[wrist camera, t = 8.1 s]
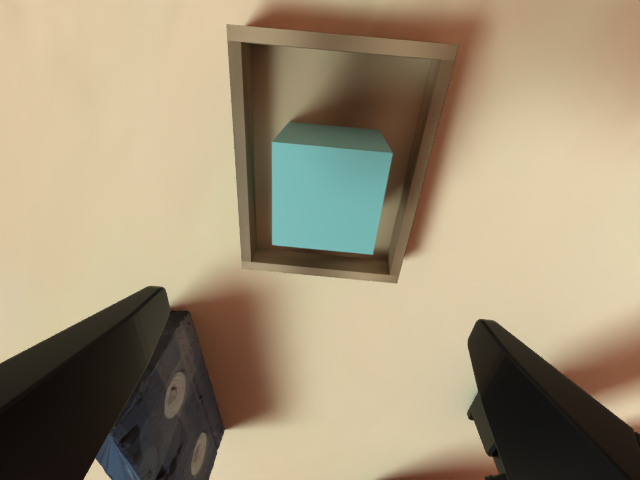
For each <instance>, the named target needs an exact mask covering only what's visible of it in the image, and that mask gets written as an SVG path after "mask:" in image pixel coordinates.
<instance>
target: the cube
mask: <svg viewBox="0 0 640 480" xmlns="http://www.w3.org/2000/svg"><path fill="white" fill-rule="evenodd" d="M392 155H393V153H392V151H391V149H390V147H389V146H388V144H387V142H386V141H385V139H384V137H383V135H382V134H381V132H380V130H375V129H364V128H354V127H343V126H332V125H321V124H310V123H299V122H288V124H287V125H286V126H285V127H284V128H283V129H282V131H281V132H280V133H279V134H278V135H277V137H276V138H275V139H274V140H273V141H272V245H277V246H287V247H298V248H308V249H318V250H329V251H339V252H350V253H360V254H370V255H373V251H374V246H375V241H376V236H377V231H378V226H379V221H380V216H381V211H382V205H383V200H384V195H385V190H386V185H387V180H388V175H389V170H390V165H391V160H392Z"/></svg>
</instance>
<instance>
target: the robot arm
mask: <svg viewBox="0 0 640 480" xmlns="http://www.w3.org/2000/svg"><path fill="white" fill-rule="evenodd" d="M169 314H170V306H169V302H168V297H167V293H166V290H165V288H163V287H159V286H148V287H146V288H144V289H142V290H140V291H138V292H136V293H134V294H132V295H130V296H128V297H127V298H125V299H123V300H121V301H119V302H117V303H115V304H113V305H111V306H109V307H107V308H105V309H104V310H102V311H100V312H98V313H96V314H94V315H92V316H90V317H88V318H86V319H84V320H82V321H81V322H79V323H77V324H75V325H73V326H71V327H69V328H67V329H65V330H63V331H61V332H59V333H58V334H56V335H54V336H52V337H50V338H48V339H46V340H44V341H42V342H40V343H38V344H36V345H34V346H33V347H31V348H29V349H27V350H25V351H23V352H21V353H19V354H17V355H15V356H13V357H11V358H10V359H8V360H6V361H4V362H2V363H0V480H83V479H84V477H85V476H86V474H87V472H88V470H89V469H90V467H91V465H92V463H93V461H94V460H95V458H96V456H97V454H98V453H99V451H100V449H101V447H102V445H103V444H104V442H105V440H106V438H107V437H108V435H109V433H110V431H111V429H112V428H113V426H114V424H115V422H116V421H117V419H118V417H119V415H120V413H121V412H122V410H123V408H124V406H125V405H126V403H127V401H128V399H129V398H130V396H131V394H132V392H133V390H134V389H135V387H136V385H137V383H138V382H139V380H140V378H141V376H142V374H143V373H144V371H145V369H146V367H147V365H148V363H149V361H150V359H151V357H152V354H153V352H154V350H155V347H156V345H157V343H158V340H159V338H160V336H161V333H162V331H163V329H164V326H165V324H166V322H167V319H168V317H169ZM468 350H469V354H470V358H471V362H472V367H473V371H474V375H475V380H476V384H477V388H478V394H477V396H476V398H475V400H474V401H473V403H472V405H471V407H470V409H469V410H468V412H467V416H468V418H469V419H470V420H474V422H475V425H476V427H477V430H478V433H479V435H480V438H481V441H482V443H483V446H484V449H485V451H486V453H487V455H488V456H489V457H493V459H494V462H495V464H496V467H497V469H498V472H499V474H498V475H494V476H492V475H489V476H485V480H640V434H639V433H638V432H634V430H633V428H631V427H630V426H629V425H627V424H626V423H625V422H624V421H622V420H621V419H620V418H619V417H617V416H616V415H615V414H613V413H612V412H611V411H610V410H608V409H607V408H606V407H604V406H603V405H602V404H601V403H599V402H598V401H597V400H595V399H594V398H593V397H592V396H590V395H589V394H588V393H586V392H585V391H584V390H583V389H581V388H580V387H579V386H577V385H576V384H575V383H574V382H572V381H571V380H570V379H569V378H567V377H566V376H565V375H563V374H562V373H561V372H560V371H558V370H557V369H556V368H554V367H553V366H552V365H551V364H549V363H548V362H547V361H545V360H544V359H543V358H542V357H540V356H539V355H538V354H536V353H535V352H534V351H533V350H531V349H530V348H529V347H527V346H526V345H525V344H524V343H522V342H521V341H520V340H518V339H517V338H516V337H515V336H513V335H512V334H511V333H510V332H508V331H507V330H506V329H504V328H503V327H502V326H501V325H499V324H498V323H497V322H495V321H493V320H486V319H479V320H478V321H477V322H476V323H475V325H474V328H473V330H472V332H471V334H470V336H469V339H468Z"/></svg>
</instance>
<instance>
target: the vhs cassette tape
mask: <svg viewBox="0 0 640 480" xmlns="http://www.w3.org/2000/svg"><path fill="white" fill-rule="evenodd" d="M224 430H225V429H224V426H223V423H222V420H221V416H220V412H219V409H218V406H217V402H216V399H215V396H214V392H213V389H212V385H211V382H210V379H209V376H208V372H207V369H206V365H205V362H204V359H203V355H202V352H201V349H200V345H199V342H198V339H197V336H196V332H195V329H194V326H193V323H192V319H191V316H190V313H189V312H186V311H178V312H174V311H172V312H171V311H170V314H169V317H168V319H167V322H166V324H165V326H164V329H163V331H162V333H161V336H160V338H159V340H158V343H157V345H156V347H155V350H154V352H153V354H152V357H151V359H150V361H149V363H148V365H147V367H146V369H145V371H144V373H143V374H142V376H141V378H140V380H139V382H138V383H137V385H136V387H135V389H134V390H133V392H132V394H131V396H130V398H129V399H128V401H127V403H126V405H125V406H124V408H123V410H122V412H121V413H120V415H119V417H118V419H117V421H116V422H115V424H114V426H113V428H112V429H111V431H110V433H109V435H108V437H107V438H106V440H105V442H104V444H103V445H102V447H101V449H100V451H99V453H98V454H97V456H96V460H97V461H98V462H99V464H100V465H101V466H102V467H103V469H104V471H105V472H106V474H107V475H108V476H109V477H110V478H111V479H112V480H209V477H210V473H211V470H212V468H213V465H214V461H215V458H216V455H217V450H218V448H219V446H220V442H221V440H222V436H223V434H224Z"/></svg>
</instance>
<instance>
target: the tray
mask: <svg viewBox="0 0 640 480" xmlns="http://www.w3.org/2000/svg"><path fill="white" fill-rule="evenodd" d="M227 40H228V56H229V71H230V87H231V102H232V118H233V133H234V149H235V165H236V180H237V196H238V211H239V227H240V242H241V258H242V269H252V270H262V271H273V272H283V273H294V274H304V275H315V276H325V277H335V278H346V279H356V280H367V281H377V282H388V283H397V281H398V278H399V274H400V270H401V266H402V262H403V258H404V254H405V251H406V247H407V243H408V239H409V235H410V231H411V228H412V224H413V220H414V216H415V212H416V208H417V204H418V201H419V197H420V193H421V189H422V185H423V181H424V177H425V174H426V170H427V166H428V162H429V158H430V154H431V150H432V147H433V143H434V139H435V135H436V131H437V127H438V123H439V120H440V116H441V112H442V108H443V104H444V100H445V96H446V93H447V89H448V85H449V81H450V77H451V73H452V69H453V66H454V62H455V58H456V54H457V50H458V46H459V45H455V44H444V43H433V42H421V41H410V40H399V39H387V38H376V37H365V36H353V35H342V34H331V33H320V32H308V31H297V30H286V29H274V28H263V27H252V26H240V25H229V24H227ZM288 122H299V123H310V124H321V125H332V126H343V127H354V128H364V129H375V130H380V132H381V134H382V135H383V137H384V139H385V141H386V142H387V144H388V146H389V147H390V149H391V151H392V153H393V155H392V160H391V165H390V170H389V175H388V180H387V185H386V190H385V195H384V200H383V205H382V211H381V216H380V221H379V226H378V231H377V236H376V241H375V246H374V251H373V255H370V254H360V253H350V252H339V251H329V250H318V249H308V248H298V247H287V246H277V245H272V141H273V140H274V139H275V138H276V137H277V135H278V134H279V133H280V132H281V131H282V129H283V128H284V127H285V126H286V125H287V124H288Z"/></svg>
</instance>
